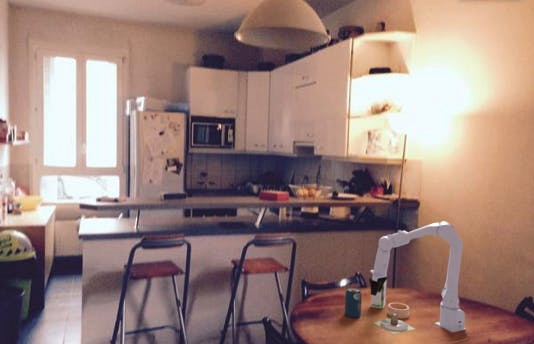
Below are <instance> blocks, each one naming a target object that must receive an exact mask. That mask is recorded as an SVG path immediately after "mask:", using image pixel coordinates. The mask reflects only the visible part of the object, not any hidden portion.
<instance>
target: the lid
mask: <svg viewBox="0 0 534 344" xmlns="http://www.w3.org/2000/svg"><path fill="white" fill-rule="evenodd" d="M380 321H381V323H380V324H381V326H382V327H383V328H385V329H388V330H391V331H405V330H407V329H408V325H409V324H408V323H406V322H405V321H403V320H400V319H399V318H398V314H396V313H391V316H390V318H385V319H382V320H380ZM382 327H381V328H382ZM383 328H382V329H383ZM385 329H384V330H385ZM405 332H406V331H405Z"/></svg>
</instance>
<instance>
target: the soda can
mask: <svg viewBox="0 0 534 344" xmlns="http://www.w3.org/2000/svg"><path fill="white" fill-rule="evenodd" d="M362 295H363V294H362V291H361V289H360V288H358V287H348V288H347V290H346V291H345V298H344V299H345V300H344V301H345V303H344V314H345V316H346V317H347V318H351V319H358V318H360V316H361V314H362Z"/></svg>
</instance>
